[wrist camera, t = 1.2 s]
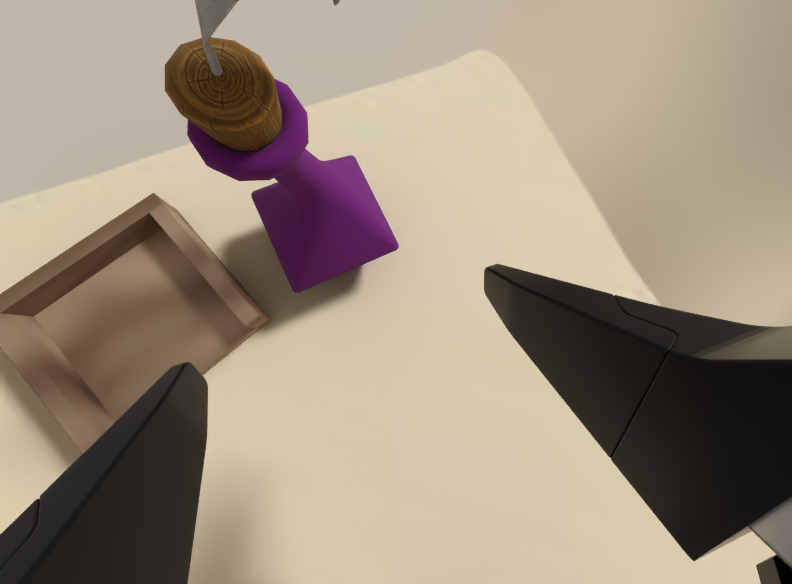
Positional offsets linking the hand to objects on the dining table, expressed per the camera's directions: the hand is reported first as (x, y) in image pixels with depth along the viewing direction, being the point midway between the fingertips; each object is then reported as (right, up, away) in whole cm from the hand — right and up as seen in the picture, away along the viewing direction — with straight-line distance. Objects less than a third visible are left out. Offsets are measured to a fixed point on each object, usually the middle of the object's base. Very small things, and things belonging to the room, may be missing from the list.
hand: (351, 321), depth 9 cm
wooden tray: (-15, -1, +12) cm, 20 cm away
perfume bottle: (-4, +5, +15) cm, 16 cm away
